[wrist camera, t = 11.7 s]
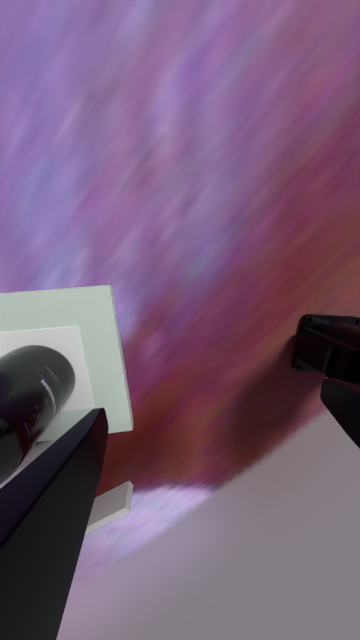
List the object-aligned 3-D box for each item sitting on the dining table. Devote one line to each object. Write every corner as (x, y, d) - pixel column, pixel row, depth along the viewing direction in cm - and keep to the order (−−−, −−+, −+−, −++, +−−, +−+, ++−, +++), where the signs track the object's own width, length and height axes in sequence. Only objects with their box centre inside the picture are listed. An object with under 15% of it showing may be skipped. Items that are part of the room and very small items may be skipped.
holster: (77, 422, 23) (65, 445, 20) (133, 485, 26) (129, 512, 23) (0, 464, 23) (-22, 492, 20) (64, 520, 26) (52, 552, 23)
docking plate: (112, 284, 19) (109, 285, 18) (133, 423, 23) (132, 431, 22) (-69, 298, 18) (-83, 300, 17) (-12, 441, 22) (-21, 449, 21)
